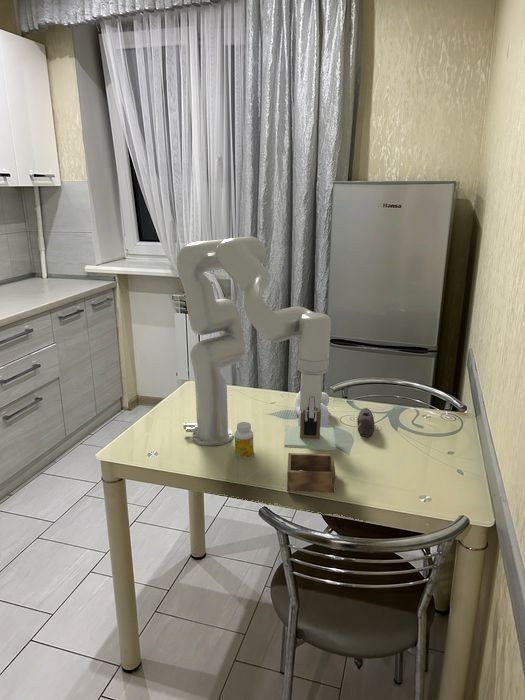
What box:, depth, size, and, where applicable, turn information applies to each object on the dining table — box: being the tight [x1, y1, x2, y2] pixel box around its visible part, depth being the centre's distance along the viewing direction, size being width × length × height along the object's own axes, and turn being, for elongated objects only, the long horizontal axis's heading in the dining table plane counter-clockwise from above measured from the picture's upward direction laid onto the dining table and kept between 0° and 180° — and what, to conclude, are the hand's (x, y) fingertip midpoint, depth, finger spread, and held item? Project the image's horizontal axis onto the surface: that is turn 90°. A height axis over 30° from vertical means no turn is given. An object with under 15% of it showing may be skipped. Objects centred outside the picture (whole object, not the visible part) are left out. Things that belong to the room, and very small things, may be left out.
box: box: [286, 452, 336, 494], centre depth 138 cm, size 12×10×6 cm
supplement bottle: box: [234, 421, 254, 459], centre depth 152 cm, size 5×5×10 cm
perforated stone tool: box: [356, 407, 375, 439], centre depth 168 cm, size 15×5×7 cm, turn 169°
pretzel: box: [293, 391, 330, 417], centre depth 179 cm, size 11×12×9 cm
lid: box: [283, 408, 337, 451], centre depth 134 cm, size 13×11×8 cm
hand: (309, 430), depth 135 cm, fingers closed on lid, 3 cm apart
